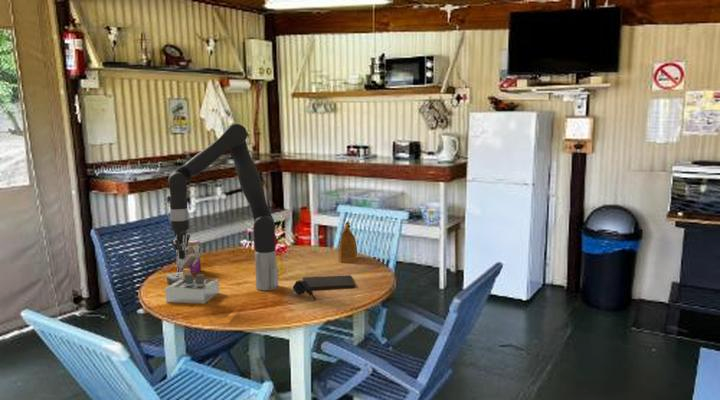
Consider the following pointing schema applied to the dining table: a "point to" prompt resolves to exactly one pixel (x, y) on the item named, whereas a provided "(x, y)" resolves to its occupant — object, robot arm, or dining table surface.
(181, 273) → the electrical switch
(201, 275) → the breaker left
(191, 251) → the candy bar box
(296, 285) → the power plug
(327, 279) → the hardcover book
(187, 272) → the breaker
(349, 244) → the coffee package
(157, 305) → the dining table surface
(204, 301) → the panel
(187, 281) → the breaker mid
